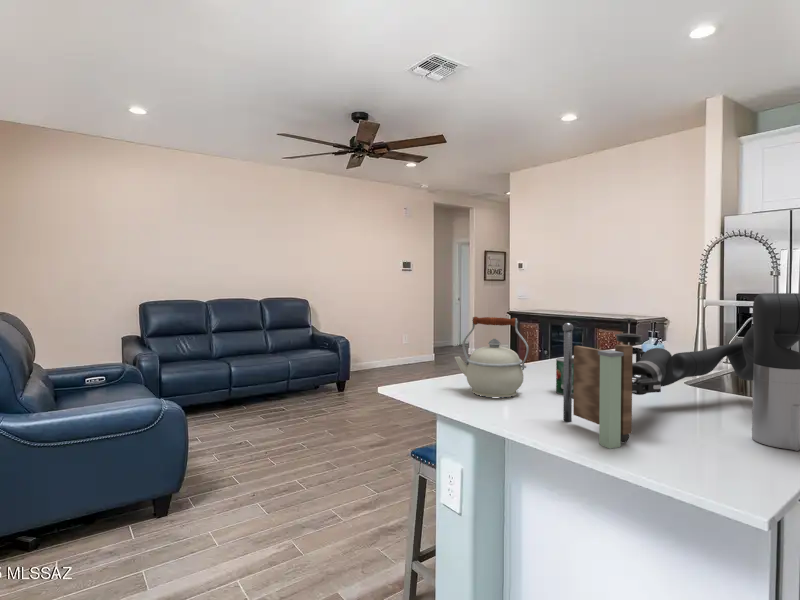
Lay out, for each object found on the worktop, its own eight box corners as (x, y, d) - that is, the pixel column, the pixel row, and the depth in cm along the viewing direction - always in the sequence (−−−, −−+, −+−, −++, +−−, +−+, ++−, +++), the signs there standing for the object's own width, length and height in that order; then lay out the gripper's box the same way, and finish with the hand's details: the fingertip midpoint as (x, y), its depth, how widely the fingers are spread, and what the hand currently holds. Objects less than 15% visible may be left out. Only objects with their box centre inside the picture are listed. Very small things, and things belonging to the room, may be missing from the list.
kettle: (535, 391, 150) (535, 316, 149) (519, 404, 135) (519, 320, 134) (464, 383, 163) (464, 314, 162) (443, 394, 147) (443, 317, 146)
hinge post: (575, 421, 117) (575, 322, 116) (567, 422, 116) (568, 323, 115) (567, 418, 120) (567, 322, 119) (560, 420, 118) (560, 322, 117)
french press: (606, 379, 167) (607, 317, 167) (627, 377, 170) (627, 316, 170) (632, 386, 156) (633, 319, 155) (653, 384, 159) (654, 319, 158)
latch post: (597, 443, 101) (597, 350, 100) (610, 441, 102) (611, 350, 101) (609, 449, 97) (610, 353, 97) (622, 447, 99) (623, 352, 98)
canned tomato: (552, 390, 152) (553, 357, 151) (576, 390, 151) (576, 357, 151) (560, 396, 144) (560, 361, 143) (585, 396, 143) (585, 361, 143)
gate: (567, 421, 116) (568, 337, 115) (575, 420, 117) (576, 337, 116) (622, 444, 99) (623, 346, 99) (631, 443, 100) (632, 345, 99)
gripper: (671, 395, 111) (652, 411, 98) (614, 387, 120) (590, 401, 107) (671, 365, 111) (653, 377, 98) (614, 359, 120) (590, 369, 107)
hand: (620, 389), depth 103 cm, fingers closed
